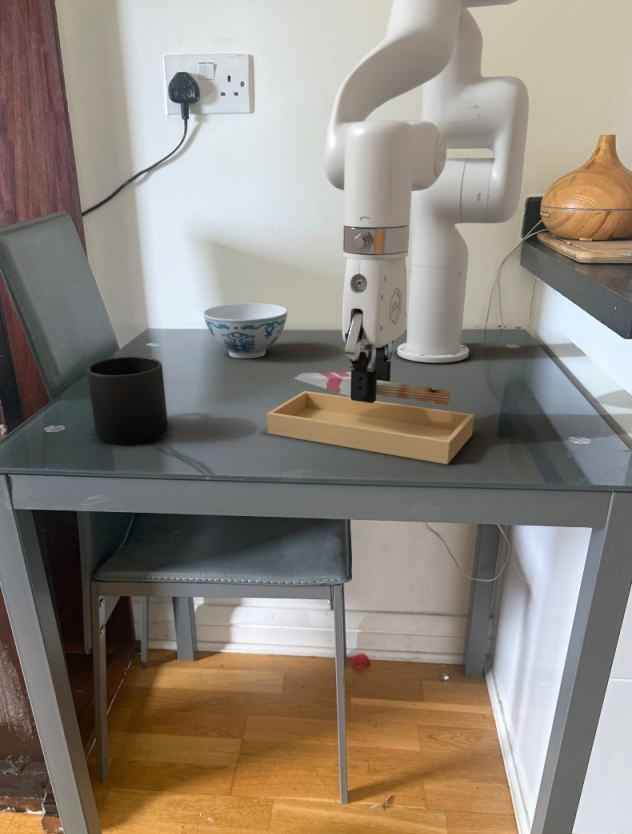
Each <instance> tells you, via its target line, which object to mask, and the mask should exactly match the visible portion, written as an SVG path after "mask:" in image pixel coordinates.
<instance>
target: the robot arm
mask: <svg viewBox="0 0 632 834" xmlns="http://www.w3.org/2000/svg"><path fill="white" fill-rule="evenodd" d="M518 1H519V0H392V1H391V7H390V12H389V16H388V20H387V24H386V25H387V26H386V30H385V35H384V38H383V39H382V40H381V41H379V42H378V44H376V45H375V46H374V47H373V48H372V49H371V50H370V51H369V52H367V53H366V54H365V56H363V58H361V60H360V61H359V62H358V63H357V64H356V65H355V66H354V68H353V69H352V70H351V71H350V72H349V73H348V74H347V75H346V77H345V79H344V80H343V81H342V83H341V84H340V86H339V88H338V90H337V92H336V95H335V97H334V100H333V103H332V108H331V113H330V118H329V122H328V126H327V130H326V134H325V135H326V136H325V143H324V147H323V148H324V149H323V166H324V172H325V175H326V178H327V180H328V182H329V183H330V184H331V185H332V186H333V187H334V188H336V189H338V190H341V191H343V225H342V226H343V229H342V230H343V234H342V235H343V236H342V257H344V258H346V263H345V272H344V281H343V293H342V295H343V296H342V313H341V334H342V340H343V342H344V343H345V348H344V355H346V356H347V358H348V360H349V369H350V372H351V400H353V401H360V402H367V403H373V402H375V401H377V395H376V387H377V380H380V381H387V382H391V368H392V367H391V366H392V361H391V360H392V357H393V343H394V341H396V340H397V339H398V338H399V337H401V336H403V334H404V333H405V332H406V342H403V343H401V344H399V345H398V346H397V351H396V353H397V355H398V356H399V357H400V358H402V359H403V360H404V359H405V360H408V361H412V362H417V363H428V364H446V363H454V362H460V361H462V360H465V359H467V358H468V357H469V353H470V348H469V347H468V346H466V345H464V344H462V334H463V324H464V323H463V322H464V313H465V311H464V310H465V300H466V290H467V280H468V279H467V278H468V267H469V255H470V254H469V248H468V244H467V243H466V241H465V239H464V237H463V236H462V234H461V233H460V231H459V230H458V228H457V226H456V225H458V224H502V223H506V222H508V221H510V220H511V219H512V218H514V216H515V215H516V213H517V211H518V207H519V204H520V201H521V200H520V199H521V193H522V192H521V191H522V183H523V173H524V166H525V165H524V164H525V163H524V162H525V154H526V147H527V146H526V145H527V134H528V126H529V111H530V99H529V91H528V88H527V85H526V84H525V82H524V81H523V80H522V79H521V78H519V77H517V76H510V75H503V76H482V56H483V48H484V47H483V46H484V40H483V35H482V31H481V28H480V27H479V24H478V23H477V21H476V19H475V17H474V16H473V14H472V13H471V12H470V10H469V9H470V8H482V7H492V6H493V7H494V6H507V5H509V6H510V5H512V4H514V3H517V2H518ZM420 86H422V89H421V90H422V93H421V119H408V120H404V119H403V120H398V119H396V120H394V119H392V120H391V119H383V120H381V119H379V120H377V119H376V120H366V119H367V118H368V117H369V116H370V115H371V114H372V113H373V112H374V111H375V110H377V109H378V108H379V107H381V106H382V105H384V104H386V103H387V102H389V101H391V100H394V99H395V98H397V97H399V96H401V95H404V94H406V93H408V92H411V91H412V90H414V89H416V88H418V87H420ZM464 149H465V150H466V149H467V150H468V149H472V150H473V149H488V150H489V151H491V152H492V153H493V157H472V158H471V157H447V153H448V152H447V150H464ZM410 224H411V254H410V255H411V256H410V271H409V272H410V273H409V276H410V277H409V292H408V283H407V282H408V277H407V276H408V274H407V260H406V257H408V256H409V244H410V243H409V242H410ZM407 298H408V299H407ZM407 301H408V302H407ZM407 303H408V304H407ZM407 305H408V310H407ZM362 340H366V341H367V343H362ZM362 350H364V351H362ZM365 351H367V353H366V352H365Z"/></svg>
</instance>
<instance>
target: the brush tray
mask: <svg viewBox="0 0 632 834" xmlns="http://www.w3.org/2000/svg"><path fill="white" fill-rule="evenodd" d="M474 420H475V414H473V413H465V412H458V411H451V410H445V409H437V408H430V407H422V406H416V405H408V404H402V403H394V402H387V401H381V400H376V401H375V402H373V403H367V402H360V401H353V400H351V397H350V396H346V395H338V394H329V393H323V392H316V391H315V392H314V391H310V390H309V391H307V390H303V391H302V392H300V393H299V394H297V395H295V396H294V397H292V398H290V399H288V400H287V401H285V402H283V403H282V404H280V405H278V406H277V407H275V408H274V409H272V410H270V411H269V412H267V413H266V423H267V427H266V428H267V434H269V435H275V436H280V437H287V438H292V439H298V440H303V441H309V442H315V443H321V444H326V445H327V444H328V445H332V446H339V447H345V448H349V449H350V448H351V449H356V450H362V451H367V452H372V453H379V454H385V455H390V456H395V457H402V458H407V459H414V460H419V461H425V462H432V463H436V464H443V465H449V463H450V462H451V461H452V460H453V458H454V457H455V456H456V455H457V454H458V452H460V451H461V450H462V448H463V446H464V445H465V444H466V443H467V442H468V440H469V439H470V438H471V437H472V436H473V430H474Z"/></svg>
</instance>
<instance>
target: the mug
mask: <svg viewBox="0 0 632 834" xmlns="http://www.w3.org/2000/svg"><path fill="white" fill-rule="evenodd" d="M163 370H164V369H163V363H162V362H161V361H160V360H159V359H155V358H152V357H146V356H119V357H112V358H107V359H103V360H99V361H96V362H93V363H91V364H89V365H88V366H87V368H86V376H87V382H88V383H87V384H88V390H89V395H90V396H89V397H90V402H91V408H92V409H91V410H92V417H93V423H94V429H95V435H96V437H97V438H98V440H100V441H102V442H105V443H108V444H114V445H135V444H142V443H146V442H147V443H148V442H151V441H154V440H157V439H159V438H161V437H163V436H164V435H165V434H167V431H168V429H169V422H168V421H169V420H168V412H167V403H166V402H167V400H166V391H165V381H164V371H163Z"/></svg>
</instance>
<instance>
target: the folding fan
mask: <svg viewBox="0 0 632 834" xmlns="http://www.w3.org/2000/svg"><path fill="white" fill-rule="evenodd" d="M293 379H294V380H296V381H300V382H303V383H306V384H309V385H313V386H316V387H319V388H322V389H325V390H329V391H331V392H335V393H337V394H341V395H343V396H346V397H351V371H334V372H333V371H332V372H329V371H328V372H301V373H300V374H298V375H297V376H295V377H294V378H293ZM376 396H383V397H390V398H396V399H403V400H411V401H416V402H423V403H424V402H425V403H429V402H433V403H434V404H437V405H443V406H448V405H449V404H450V402H451V397H452V390H449V389H443V388H438V389H433V388H432V387H427V386H420V385H415V384H414V385H413V384H405V383H400V382H392V381H390V382H387V381H380V380H377V387H376Z"/></svg>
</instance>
